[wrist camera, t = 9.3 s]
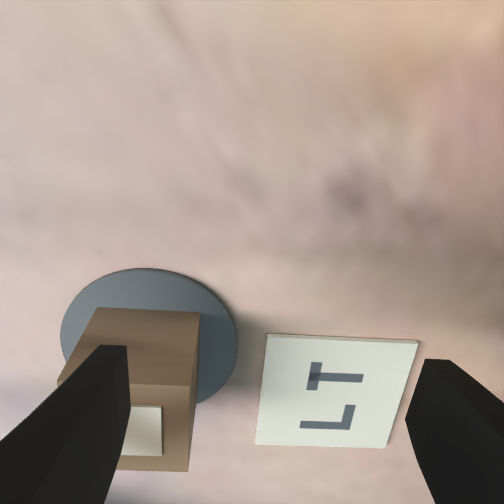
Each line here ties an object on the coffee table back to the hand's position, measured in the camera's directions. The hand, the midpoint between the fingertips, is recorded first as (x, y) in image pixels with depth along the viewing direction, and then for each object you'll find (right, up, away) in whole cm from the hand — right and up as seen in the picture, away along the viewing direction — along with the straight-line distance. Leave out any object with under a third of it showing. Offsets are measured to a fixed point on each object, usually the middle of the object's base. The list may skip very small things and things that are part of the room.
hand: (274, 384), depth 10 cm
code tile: (+4, -5, +14) cm, 15 cm away
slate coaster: (-6, -2, +12) cm, 13 cm away
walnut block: (-6, -2, +11) cm, 13 cm away
